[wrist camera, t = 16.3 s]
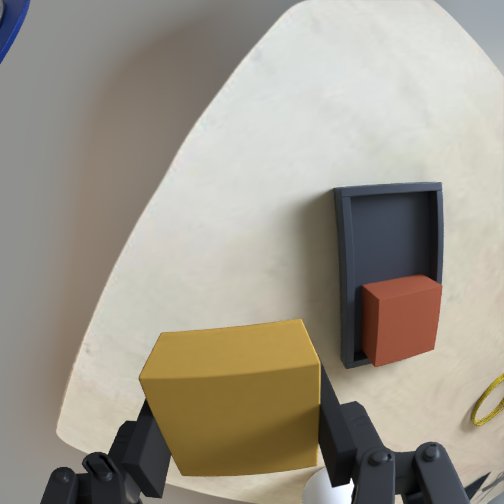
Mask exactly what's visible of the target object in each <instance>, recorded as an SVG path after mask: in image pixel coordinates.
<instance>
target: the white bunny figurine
mask: <svg viewBox="0 0 504 504" xmlns="http://www.w3.org/2000/svg"><path fill="white" fill-rule="evenodd" d="M353 488H354V484H353V482H352V479H351V481H350V484H347V485H343V486H339V487H334V488H332V487H331V483H330V480H329V476H328V473H327V469H326V467H325V468H323V469H321V470H319V471H318V472H316V473H315V474H314V475H313V476H312V477H311V478H310V479H309V480H308V481H307V483H306V484H305V486H304V489H303V492H302V504H351V499H352V498H351V494H352V491H353Z"/></svg>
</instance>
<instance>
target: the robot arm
mask: <svg viewBox="0 0 504 504" xmlns="http://www.w3.org/2000/svg"><path fill="white" fill-rule="evenodd" d="M6 10H7V6H6V3H5V1H3V0H0V28H1V26H2V24H3V21H4V18H5V15H6ZM317 356H318V355H317ZM318 358H319V356H318ZM319 360H320V358H319ZM319 445H320V449H321V452H322V455H323V459H324V462H325V466H326V469H327V473H328V476H329V480H330V483H331V487H332V488H334V487H339V486H343V485H347V484H350V481H351V479H352V482H353V484H354V488H353V491H352V494H351V498H352V499H351V504H394V503H395V495H398V494H401V497H402V500H403V504H470V501H469V499H468V497H467V495H466V492H465V490H464V488H463V486H462V483H461V481H460V479H459V477H458V475H457V473H456V470H455V468H454V466H453V464H452V462H451V460H450V458H449V456H448V454H447V452H446V450H445V448H444V447H443V446H442V445H441V444H439V443H437V442H426V443H424V444H422V445H420V446H419V447H418V448H417V449H416V451H411V452H394V451H391V450H390V449H388V448H386V447H385V446H384V445H383V443H382V441H381V439H380V437H379V435H378V433H377V431H376V429H375V428H374V426H373V424H372V422H371V420H370V418H369V416H368V414H367V412H366V410H365V408H364V407H363V406H362V405H361V404H359V403H358V402H357V401H354V402H350V403H346V404H341V405H340V404H339V401H338V399H337V397H336V395H335V392H334V390H333V388H332V385H331V383H330V381H329V378H328V376H327V374H326V372H325V369H324V367H323V365H322V362H321V360H320V420H319ZM170 458H171V452H170V450H169V448H168V446H167V444H166V442H165V440H164V437H163V435H162V433H161V431H160V429H159V426H158V424H157V422H156V420H155V417H154V416H153V414H152V411H151V409H150V407H149V404H148V402H147V399H145V401H144V404H143V406H142V409H141V411H140V414H139V416H138V419H137V421H126V422H125V423H124V424H122V425H121V426H120V428H119V430H118V432H117V436H116V437H115V439H114V442H113V444H112V446H111V448H110V451H109V453H108V455H107V454H105V453H102V452H94V453H91V454H89V455H87V456H86V457H85V458H84V459H83V462H82V465H83V467H84V468H85V469H86V471H87V472H88V473H83V474H75V472H74V471H73V470H72V469H70V468H68V467H60V468H57V469H56V470H54V471H53V472H52V474H51V476H50V478H49V481H48V484H47V486H46V489H45V492H44V494H43V497H42V500H41V503H40V504H143V503H142V501H141V499H140V498H139V496H140V492H141V491H142V493H143V494H144V495H145V496H146V497H153V498H162V495H163V490H164V486H165V481H166V476H167V472H168V467H169V462H170Z"/></svg>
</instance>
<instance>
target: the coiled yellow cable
mask: <svg viewBox="0 0 504 504" xmlns="http://www.w3.org/2000/svg"><path fill="white" fill-rule="evenodd" d="M503 375H504V374H502V375H501V376H500V377H498V378H497V379H496V380H495V381H494V382H493V383H492V384H491V385H490V386H489V388H488V389H487V390H486V391H485V392H484V394H483V395H482V396H481V398H480V399H479V401H478V402H477V404H476V406H475V408H474V410H473V413H472V418H471V419H472V422H473V423H474V424H475V425H476V426H480V425H483V424H485V423H486V422H488V421H489V420H490V419H492V418H493V417H494V416H495V415H496V414H498V413H499V412H500V411H501V410H502V409H503V408H504V406H503V407H502V408H501V409H500V410H499V408H500V407H501V406H502V404H503V403H504V398H503V400H502V401H501V403H502V404H501V403H500V404H499V405H498V406H497V408H498V407H499V408H498V409H497V408H496V409H495V410H494V411H493V412H492V413H491V414H492V415H491V414H489V415H488V416H487V417H485V418H484V419H482V420H480V421H477V422H476V421H475V415H476V412H477V410H478V408H479V406H480V405H481V403H482V402H483V400H484V399H485V398H486V396H487V395H488V394H489V393H490V392H491V391H492V390H493V389H494V388H495V387H496V386H497V385H498V384H499V383H500V382H501V381H503V380H504V376H503ZM502 376H503V377H502ZM501 377H502V378H501ZM498 379H499V380H498ZM497 380H498V381H497ZM495 384H496V385H495ZM494 385H495V386H494ZM493 386H494V387H493ZM492 387H493V388H492ZM491 388H492V389H491ZM498 410H499V411H498ZM497 411H498V412H497ZM474 412H475V413H474ZM496 412H497V413H496ZM490 415H491V416H490ZM489 416H490V417H489ZM488 417H489V418H488ZM486 418H488V419H486ZM485 419H486V420H485ZM483 420H485V421H483ZM481 421H483V422H481ZM479 422H481V423H479Z"/></svg>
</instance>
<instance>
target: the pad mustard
mask: <svg viewBox="0 0 504 504" xmlns="http://www.w3.org/2000/svg"><path fill="white" fill-rule="evenodd" d="M139 381H140V383H141V386H142V389H143V391H144V394H145V397H146V399H147V402H148V404H149V407H150V409H151V411H152V414H153V416H154V417H155V420H156V422H157V424H158V426H159V429H160V431H161V433H162V435H163V437H164V440H165V442H166V444H167V446H168V448H169V450H170V452H171V455H172V457H173V459H174V461H175V463H176V465H177V467H178V469H179V471H180V473H181V475H182V476H240V475H254V474H265V473H274V472H282V471H289V470H296V469H302V468H308V467H314V466H317V462H318V445H319V420H320V360H319V358H318V356H317V354H316V351H315V349H314V347H313V344H312V342H311V340H310V338H309V335H308V333H307V331H306V329H305V326H304V324H303V322H302V320H301V319H293V320H286V321H279V322H271V323H263V324H254V325H246V326H236V327H227V328H216V329H205V330H193V331H179V332H163V333H161V334H160V336H159V338H158V340H157V342H156V344H155V346H154V348H153V350H152V352H151V354H150V356H149V358H148V359H147V361H146V363H145V365H144V367H143V369H142V371H141V373H140V375H139Z"/></svg>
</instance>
